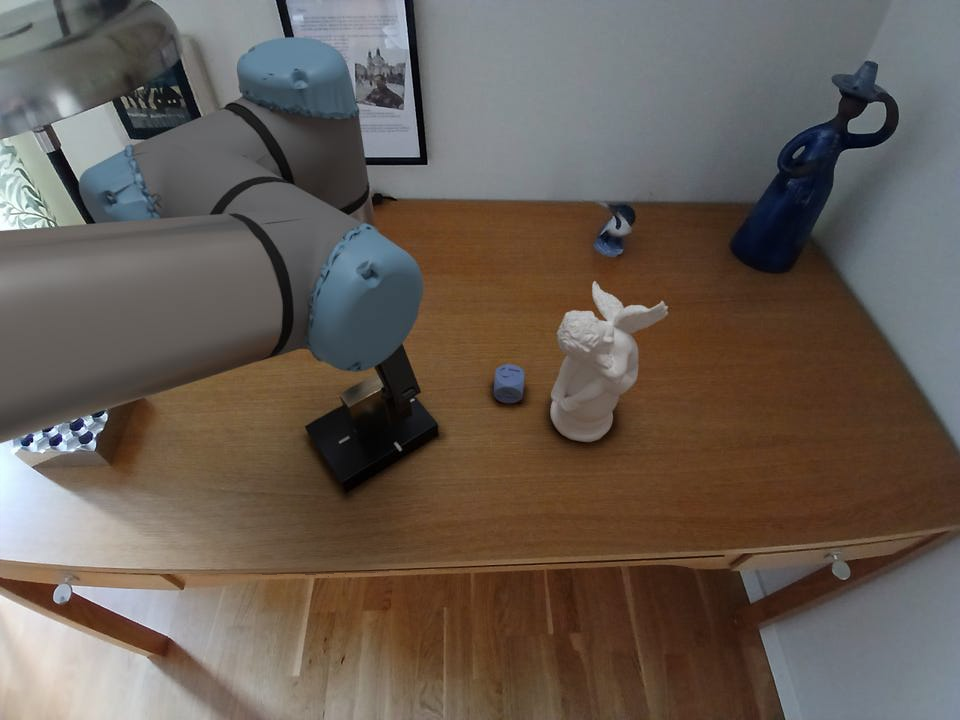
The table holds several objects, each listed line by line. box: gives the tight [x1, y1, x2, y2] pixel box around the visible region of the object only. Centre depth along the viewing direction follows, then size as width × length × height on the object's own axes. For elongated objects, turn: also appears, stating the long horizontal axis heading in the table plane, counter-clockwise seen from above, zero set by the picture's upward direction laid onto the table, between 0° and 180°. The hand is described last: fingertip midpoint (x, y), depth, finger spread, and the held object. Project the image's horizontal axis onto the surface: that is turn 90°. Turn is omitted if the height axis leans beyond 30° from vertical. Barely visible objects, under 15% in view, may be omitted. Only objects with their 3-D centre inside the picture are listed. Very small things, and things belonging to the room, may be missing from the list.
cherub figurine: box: [549, 280, 669, 443], centre depth 69 cm, size 12×12×22 cm
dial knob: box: [338, 373, 388, 440], centre depth 69 cm, size 7×2×8 cm, turn 127°
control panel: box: [304, 396, 439, 494], centre depth 73 cm, size 14×11×3 cm
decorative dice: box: [493, 363, 526, 404], centre depth 78 cm, size 4×4×4 cm
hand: (369, 380), depth 66 cm, fingers open, 13 cm apart
